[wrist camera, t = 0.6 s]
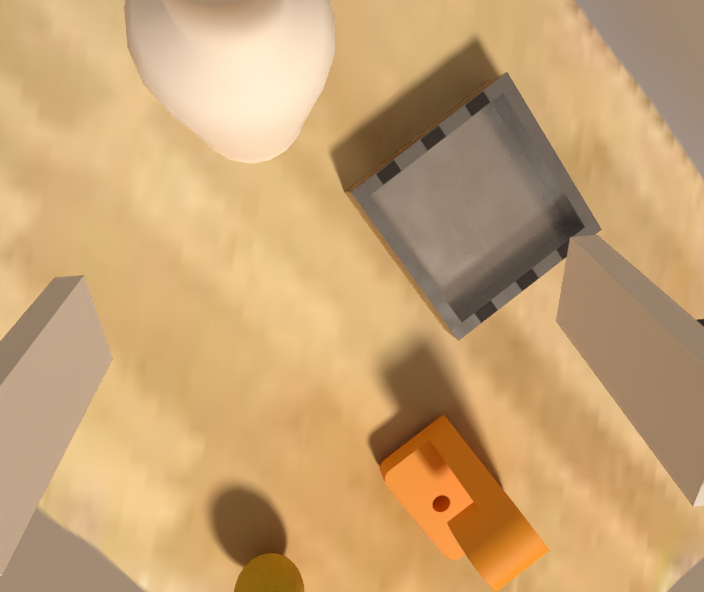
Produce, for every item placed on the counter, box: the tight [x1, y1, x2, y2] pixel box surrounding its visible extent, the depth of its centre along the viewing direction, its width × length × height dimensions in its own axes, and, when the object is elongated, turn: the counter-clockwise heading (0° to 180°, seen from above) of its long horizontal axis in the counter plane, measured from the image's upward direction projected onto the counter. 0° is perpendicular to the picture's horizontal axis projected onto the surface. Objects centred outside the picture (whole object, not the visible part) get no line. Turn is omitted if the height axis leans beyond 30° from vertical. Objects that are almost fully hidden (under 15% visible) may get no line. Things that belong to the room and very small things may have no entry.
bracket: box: [380, 414, 549, 592], centre depth 42 cm, size 11×7×12 cm, turn 37°
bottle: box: [124, 0, 335, 163], centre depth 25 cm, size 8×8×30 cm
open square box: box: [344, 72, 602, 340], centre depth 41 cm, size 14×14×3 cm
